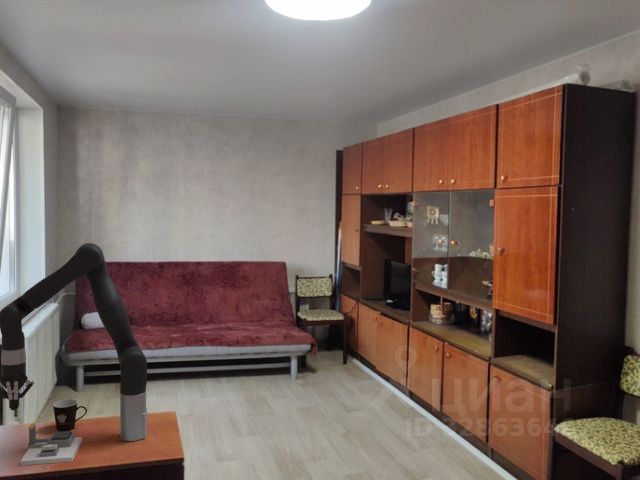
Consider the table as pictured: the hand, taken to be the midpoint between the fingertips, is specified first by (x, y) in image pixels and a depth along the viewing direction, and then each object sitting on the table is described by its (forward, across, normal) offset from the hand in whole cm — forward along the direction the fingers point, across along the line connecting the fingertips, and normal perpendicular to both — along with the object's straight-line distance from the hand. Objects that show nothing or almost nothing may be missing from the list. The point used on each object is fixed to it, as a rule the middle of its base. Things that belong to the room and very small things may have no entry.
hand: (14, 409), depth 194 cm
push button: (+13, +15, 0) cm, 20 cm away
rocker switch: (+12, +13, -8) cm, 19 cm away
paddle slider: (+13, +6, 0) cm, 14 cm away
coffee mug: (+15, +14, +16) cm, 26 cm away
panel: (+15, +13, -4) cm, 20 cm away
